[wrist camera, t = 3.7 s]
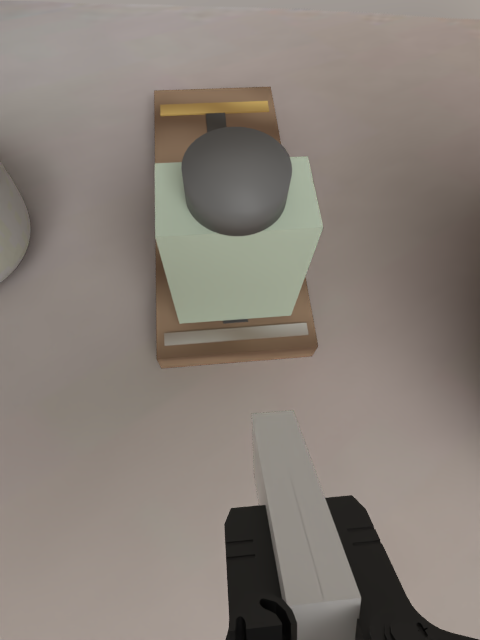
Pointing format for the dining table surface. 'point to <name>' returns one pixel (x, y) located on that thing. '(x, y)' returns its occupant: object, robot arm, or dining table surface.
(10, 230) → the teacup
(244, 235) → the fader tab
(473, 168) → the dining table surface
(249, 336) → the fader track
